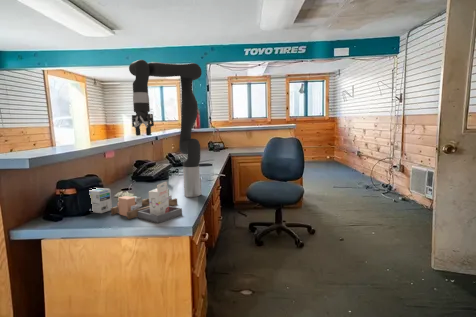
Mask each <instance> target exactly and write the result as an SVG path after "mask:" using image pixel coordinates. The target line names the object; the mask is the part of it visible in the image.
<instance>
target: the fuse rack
mask: <svg viewBox="0 0 476 317" xmlns="http://www.w3.org/2000/svg"><path fill="white" fill-rule="evenodd" d="M142 198H143V197H141V196H138V197H135V205H133V206H131V211H129V212H127V216H126V217H127V220H131V219H134V218H138V211H141V210H145V209H148V208H150V205H149V197H148V198H143V199H142ZM168 200H169V206H173V207H175V206H177V205H178V198H172V195H169V196H168ZM110 212H111V213H110V214H111V215H116V214H120V213H119V201H118V202H116V206H114V207H112V208H111V210H110Z"/></svg>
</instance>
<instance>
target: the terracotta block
mask: <svg viewBox="0 0 476 317" xmlns="http://www.w3.org/2000/svg"><path fill="white" fill-rule="evenodd" d="M118 202H119V213H118V214H119V215H121V216H124V217H127V212H129V211H131V206H133V205H135V202H136V197H133V196H128V195H123V196H119V197H118Z"/></svg>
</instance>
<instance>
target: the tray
mask: <svg viewBox="0 0 476 317" xmlns="http://www.w3.org/2000/svg"><path fill="white" fill-rule="evenodd" d="M180 216H183V209H182V208H180V207H176V206H169V212H167V213H164V214H161V215H158V216H157V215H153V214H150V208H148V209H145V210H141V211H138V217H137V218H138V219H139V220H144V221H147V222H151V223H155V224H160V223H163V222H166V221H168V220H171V219H175V218H176V217H180Z"/></svg>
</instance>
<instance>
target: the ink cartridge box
mask: <svg viewBox="0 0 476 317" xmlns="http://www.w3.org/2000/svg"><path fill="white" fill-rule="evenodd" d="M156 187H157V188H155V189H154V188H153V189H152V190H149V191H148V198H149V205H148V206H150V214H153V215H157V216H158V215H161V214H164V213H167V212H169V200H168V188H169V187H168V182H167V181H164V182H160V183H159V184H157V185H156Z"/></svg>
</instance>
